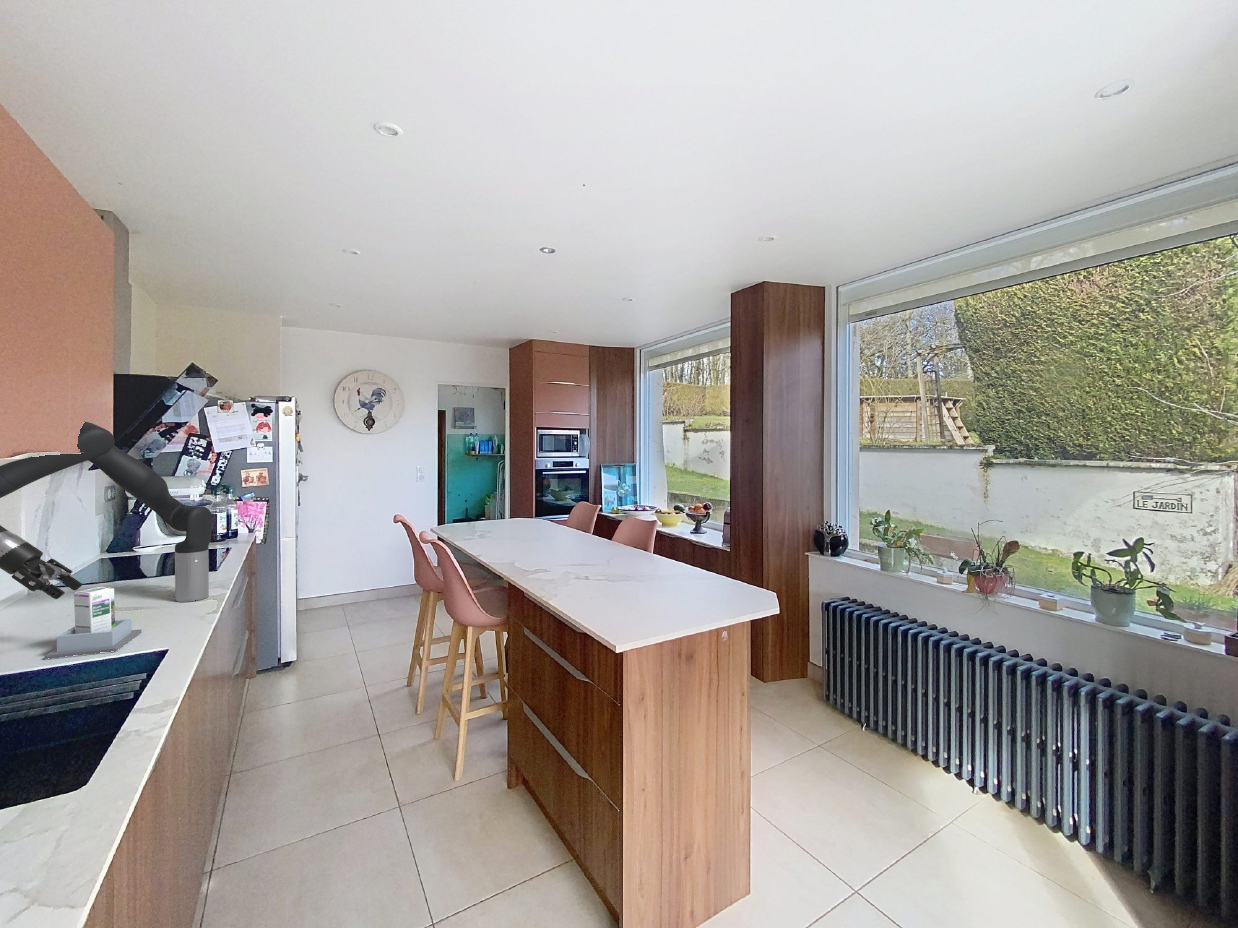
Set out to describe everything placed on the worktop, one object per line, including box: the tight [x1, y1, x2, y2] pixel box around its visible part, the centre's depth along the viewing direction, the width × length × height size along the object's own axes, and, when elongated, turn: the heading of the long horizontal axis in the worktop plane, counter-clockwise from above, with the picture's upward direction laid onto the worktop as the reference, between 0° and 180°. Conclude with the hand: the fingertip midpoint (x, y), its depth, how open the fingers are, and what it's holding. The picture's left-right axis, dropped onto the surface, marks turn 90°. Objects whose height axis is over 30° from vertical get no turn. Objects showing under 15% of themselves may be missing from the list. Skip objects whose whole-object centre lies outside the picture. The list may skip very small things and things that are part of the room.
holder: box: [43, 618, 142, 660], centre depth 141 cm, size 15×14×5 cm
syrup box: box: [73, 586, 116, 634], centre depth 140 cm, size 6×6×14 cm
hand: (70, 591), depth 138 cm, fingers open, 8 cm apart
